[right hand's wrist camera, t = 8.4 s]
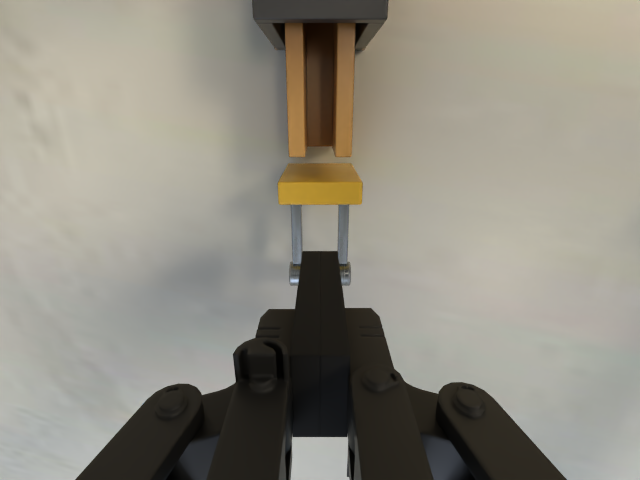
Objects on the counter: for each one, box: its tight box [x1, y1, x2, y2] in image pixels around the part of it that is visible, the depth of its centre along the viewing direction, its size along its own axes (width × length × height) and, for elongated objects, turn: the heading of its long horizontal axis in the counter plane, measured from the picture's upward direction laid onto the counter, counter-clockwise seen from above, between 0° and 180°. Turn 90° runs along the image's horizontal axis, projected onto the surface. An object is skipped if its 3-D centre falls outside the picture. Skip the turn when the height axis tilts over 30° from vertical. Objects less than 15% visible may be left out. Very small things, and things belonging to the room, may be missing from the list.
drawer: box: [278, 23, 363, 286], centre depth 19 cm, size 20×4×6 cm, turn 0°
